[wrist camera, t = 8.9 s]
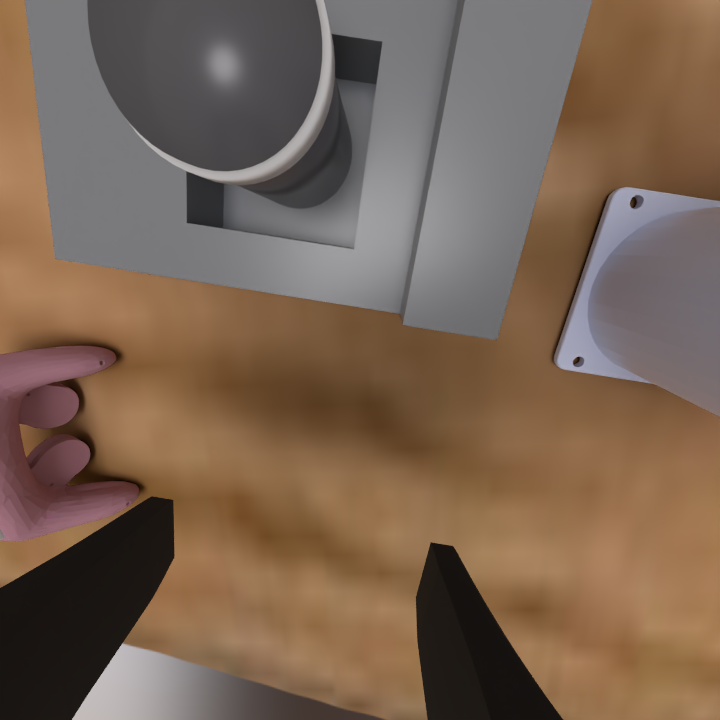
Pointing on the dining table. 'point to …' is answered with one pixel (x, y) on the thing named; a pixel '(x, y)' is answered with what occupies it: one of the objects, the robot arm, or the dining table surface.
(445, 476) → the dining table surface
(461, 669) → the robot arm
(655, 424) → the dining table surface
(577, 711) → the dining table surface
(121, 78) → the lens
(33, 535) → the pink rounded piece
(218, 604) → the dining table surface
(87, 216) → the camera body
